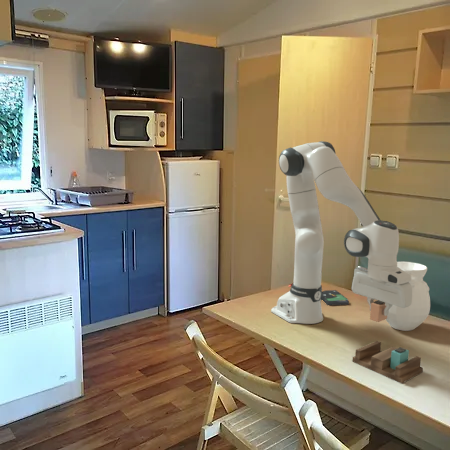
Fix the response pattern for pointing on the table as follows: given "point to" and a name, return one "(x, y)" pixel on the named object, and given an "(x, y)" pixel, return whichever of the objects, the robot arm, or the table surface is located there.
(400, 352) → the teal box with panel
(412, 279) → the pitcher
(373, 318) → the orange rectangular block
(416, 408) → the table surface
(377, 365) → the brown slotted tray
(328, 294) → the disk drive
